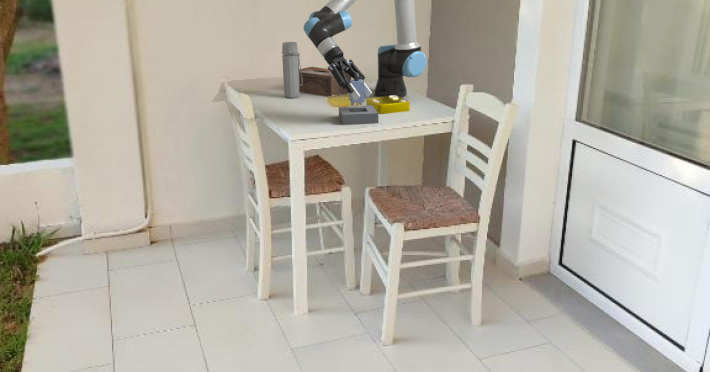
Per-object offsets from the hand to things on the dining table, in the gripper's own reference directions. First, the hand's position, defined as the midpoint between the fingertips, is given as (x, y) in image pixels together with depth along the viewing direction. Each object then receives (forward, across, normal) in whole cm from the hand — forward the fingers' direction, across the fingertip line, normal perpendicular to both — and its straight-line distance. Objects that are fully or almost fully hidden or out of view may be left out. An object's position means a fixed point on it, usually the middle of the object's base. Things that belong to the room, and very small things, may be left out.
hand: (363, 96), depth 260 cm
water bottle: (-32, -20, -46) cm, 59 cm away
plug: (0, 0, -5) cm, 5 cm away
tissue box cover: (-30, -37, -44) cm, 64 cm away
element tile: (+4, -23, -10) cm, 25 cm away
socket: (+5, 0, -9) cm, 10 cm away
